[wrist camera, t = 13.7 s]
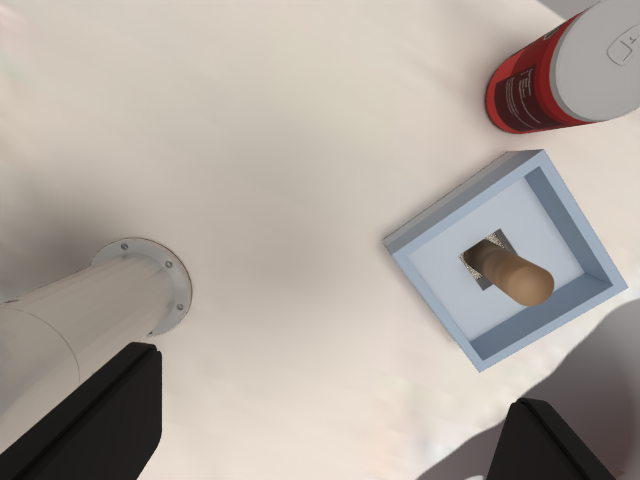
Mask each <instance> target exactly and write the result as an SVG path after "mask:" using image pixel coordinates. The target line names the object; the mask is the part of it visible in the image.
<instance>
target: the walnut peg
mask: <svg viewBox="0 0 640 480" xmlns="http://www.w3.org/2000/svg"><path fill="white" fill-rule="evenodd" d="M464 259H465V261H466V263H467V264H468V265H469V266H471V267H472V268H473V269H474V270H476V271H477V272H478V273H480V274H481V275H482V276H484V277H485V278H486V279H487V280H489V281H490V282H491V283H493V284H494V285H495V286H496V287H498V288H499V289H500V290H502V291H503V292H504V293H505V294H507V295H508V296H509V297H511V298H512V299H513V300H514V301H516V302H517V303H519V304H521V305H523V306H536V305H539V304H541V303H543V302H545V301H546V300H547V299H548V298H549V297H550V296H551V294H552V293H553V290H554V279H553V276H552V275H551V273H550V272H548V271H547V270H545V269H543V268H542V267H540V266H538V265H536V264H534V263H532V262H530V261H528V260H526V259H524V258H522V257H520V256H518V255H516V254H514V253H512V252H510V251H508V250H506V249H504V248H502V247H500V246H498V245H496V244H494V243H492V242H490V241H488V240H486V239H483V240H481V241H480V242H478V243H477V244H475V245H474V246H472V247H471V248H469V249H468V250H466V251H465V252H464Z"/></svg>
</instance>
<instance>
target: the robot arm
mask: <svg viewBox="0 0 640 480" xmlns="http://www.w3.org/2000/svg"><path fill="white" fill-rule="evenodd" d="M171 262H172V263H171ZM191 293H192V291H191V284H190V280H189V277H188V274H187V272H186V270H185V268H184V267H183V265H182V263H181V262H180V261H179V260H178V259H177V257H176V256H175V255H174V254H172V253H171V252H170V251H169V250H168V249H166V248H164V247H163V246H161V245H160V244H157V243H155V242H152V241H150V240H145V239H140V238H128V239H123V240H119V241H116V242H113V243H111V244H109V245H107V246H105V247H104V248H102V249H101V250H100V251H99V252H98V253H97V254H96V255H95V257H94V258H93V260H92V262H91V264H90V267H88V268H86V269H83V270H81V271H79V272H76V273H74V274H72V275H69V276H67V277H64V278H62V279H60V280H57V281H55V282H52V283H50V284H48V285H45V286H43V287H40V288H38V289H36V290H33V291H31V292H29V293H26V294H24V295H21V296H19V297H17V298H14V299H12V300H9V301H7V302H5V303H2V304H0V480H137V478H138V477H139V475H140V473H141V472H142V470H143V469H144V467H145V466H146V464H147V462H148V461H149V459H150V458H151V456H152V455H153V453H154V451H155V450H156V448H157V446H158V444H159V442H160V439H161V434H162V354H161V352H160V351H157V348H156V346H155V345H154V344H147V343H140V341H141V340H142V339H143V338H144V337H145V336H148V337H149V336H156V335H160V334H163V333H166V332H167V331H169V330H171V329H172V328H174V327H175V326H176V325H177V324H178V323H179V322H180V321H181V320H182V319H183V318H184V316H185V315H186V313H187V311H188V309H189V306H190V302H191ZM486 480H616V479H615V478H614V477H613V476H612V474H611V473H610V472H609V471H608V470H607V469H606V468H605V466H604V465H603V464H602V463H601V462H600V461H599V460H598V459H597V457H596V456H595V455H594V454H593V453H592V452H591V451H590V449H589V448H588V447H587V446H586V445H585V444H584V443H583V442H582V440H581V439H580V438H579V437H578V436H577V435H576V434H575V432H574V431H573V430H572V429H571V428H570V427H569V426H568V424H567V423H566V422H565V421H564V420H563V419H562V418H561V417H560V415H559V414H558V413H557V412H556V411H555V410H554V409H553V408H552V406H551V405H550V404H548V403H547V402H545V401H543V400H536V399H529V398H519V399H518V400H517V401H516V403H512V404H511V406H510V408H509V411H508V414H507V417H506V420H505V423H504V427H503V430H502V433H501V436H500V439H499V442H498V445H497V448H496V451H495V454H494V457H493V460H492V463H491V466H490V469H489V472H488V475H487V479H486Z"/></svg>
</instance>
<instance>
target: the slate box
mask: <svg viewBox="0 0 640 480" xmlns="http://www.w3.org/2000/svg"><path fill="white" fill-rule="evenodd" d="M493 232H495V233H496V235H497V236H498V238H499V239H500V241H501V242H502V244H503V245H504V247H505V248H506V250H508V251H510V252H512V253H514V254H516V255H518V256H520V257H522V258H524V259H526V260H528V261H530V262H532V263H534V264H536V265H538V266H540V267H542V268H543V269H545V270H547V271H548V272H550V273H551V275H552V276H553V279H554V290H553V293H552V294H551V296H550V297H549V298H548V299H547V300H546V301H545V302H543V303H541V304H539V305H536V306H523V305H521V304H519V303H517V302H516V301H514V300H513V299H512V298H511V297H509V296H508V295H507V294H505V293H504V292H503V291H502V290H500V289H499V288H498V287H496V286H495V285H494V284H493V283H491V282H490V281H489V280H487V279H486V278H485V277H484V276H483V277H481V278H480V279H478V280H475V279H474V278H473V276H472V275H471V273H470V272H469V270H468V269H467V268H466V266H465V265H464V263H463V262H462V261H461V259H460V258H459V255H460V254H462V253H463V252H465V251H466V250H468V249H469V248H471V247H472V246H474V245H475V244H477V243H478V242H480V241H481V240H483V239H484V238H486V237H487V236H489V235H490V234H492V233H493ZM382 241H383V243H384V244H385V246H386V248H387V249H388V251H389V253H390V255H391V256H392V257H393V259H394V260H395V261H396V263H397V264H398V265H399V267H400V268H401V269H402V271H403V272H404V273H405V275H406V276H407V277H408V279H409V280H410V281H411V283H412V284H413V285H414V287H415V288H416V289H417V291H418V292H419V293H420V295H421V296H422V297H423V299H424V300H425V301H426V303H427V304H428V305H429V307H430V308H431V309H432V311H433V312H434V313H435V315H436V316H437V317H438V319H439V320H440V321H441V322H442V324H443V325H444V326H445V328H446V329H447V330H448V332H449V333H450V334H451V336H452V337H453V338H454V340H455V341H456V342H457V344H458V345H459V346H460V348H461V349H462V350H463V352H464V353H465V354H466V356H467V357H468V358H469V360H470V361H471V362H472V364H473V365H474V366H475V368H476V369H477V370H478V372H479V373H480V372H482V371H484V370H485V369H487V368H489V367H491V366H492V365H494V364H496V363H498V362H499V361H501V360H503V359H505V358H506V357H508V356H510V355H512V354H513V353H515V352H517V351H519V350H520V349H522V348H524V347H526V346H527V345H529V344H531V343H533V342H534V341H536V340H538V339H540V338H541V337H543V336H545V335H547V334H548V333H550V332H552V331H554V330H555V329H557V328H559V327H561V326H562V325H564V324H566V323H567V322H569V321H571V320H573V319H574V318H576V317H578V316H580V315H581V314H583V313H585V312H587V311H588V310H590V309H592V308H594V307H595V306H597V305H599V304H601V303H602V302H604V301H606V300H608V299H609V298H611V297H613V296H615V295H616V294H618V293H620V292H622V291H623V290H625V289H627V288H629V287H628V286H627V284H626V282H625V281H624V279H623V277H622V276H621V274H620V273H619V271H618V269H617V268H616V266H615V264H614V263H613V261H612V259H611V258H610V256H609V255H608V253H607V251H606V250H605V248H604V246H603V245H602V243H601V241H600V240H599V238H598V237H597V235H596V233H595V232H594V230H593V228H592V227H591V225H590V223H589V222H588V220H587V219H586V217H585V215H584V214H583V212H582V210H581V209H580V207H579V205H578V204H577V202H576V201H575V199H574V197H573V196H572V194H571V192H570V191H569V189H568V187H567V186H566V184H565V183H564V181H563V179H562V178H561V176H560V174H559V173H558V171H557V169H556V168H555V166H554V165H553V163H552V161H551V160H550V158H549V156H548V155H547V153H546V152H545V150H544V149H539V150H524V151H510V152H506V153H505V154H504V155H502V156H501V157H499V158H498V159H497V160H495V161H494V162H492V163H491V164H489V165H488V166H487V167H485V168H484V169H482V170H481V171H480V172H478V173H477V174H475V175H474V176H473V177H471V178H470V179H468V180H467V181H466V182H464V183H463V184H461V185H460V186H458V187H457V188H456V189H454V190H453V191H451V192H450V193H449V194H447V195H446V196H444V197H443V198H442V199H440V200H439V201H437V202H436V203H435V204H433V205H432V206H430V207H429V208H427V209H426V210H425V211H423V212H422V213H420V214H419V215H418V216H416V217H415V218H413V219H412V220H411V221H409V222H408V223H406V224H405V225H403V226H402V227H401V228H399V229H398V230H396V231H395V232H394V233H392V234H391V235H389V236H388V237H387V238H385V239H384V240H382Z"/></svg>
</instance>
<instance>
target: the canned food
mask: <svg viewBox="0 0 640 480" xmlns="http://www.w3.org/2000/svg"><path fill="white" fill-rule="evenodd" d="M486 107H487V111H488V114H489V117H490V118H491V120H492V121H493V122H494V123H495V124H496V125H497V126H498V127H499V128H501V129H503V130H505V131H507V132H510V133H515V134H524V133H532V132H539V131H545V130H552V129H559V128H565V127H572V126H578V125H585V124H592V123H597V122H603V121H607V120H611V119H614V118H617V117H621V116H624V115H626V114H628V113H630V112H632V111H634V110H636V109H637V108H639V107H640V0H603V1H600V2H598V3H596V4H595V5H593V6H591V7H589V8H587V9H586V10H584V11H583V12H581V13H579V14H577V15H575V16H574V17H572V18H571V19H569V20H567V21H566V22H564V23H563V24H561V25H560V26H558V27H556V28H555V29H553V30H552V31H550V32H548V33H547V34H545V35H544V36H542V37H540V38H539V39H537V40H536V41H534V42H532V43H531V44H529V45H528V46H526V47H525V48H523V49H521V50H520V51H518V52H517V53H515V54H513V55H512V56H510V57H509V58H508V59H507V60H506V61H504V62H503V63H502V65H501V66H500V67H499V68H498V69H497V71H496V72H495V74H494V76H493V77H492V79H491V81H490V84H489V86H488V89H487V93H486Z"/></svg>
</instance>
